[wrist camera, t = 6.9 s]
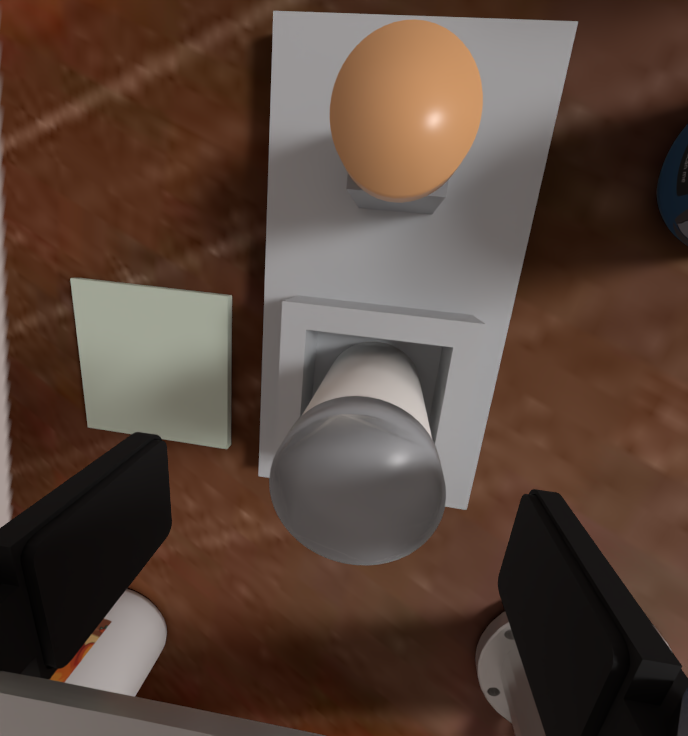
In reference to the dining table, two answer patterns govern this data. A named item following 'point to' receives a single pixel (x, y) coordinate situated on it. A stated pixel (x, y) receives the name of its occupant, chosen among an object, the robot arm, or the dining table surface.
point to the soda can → (675, 188)
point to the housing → (402, 231)
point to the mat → (155, 360)
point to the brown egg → (406, 109)
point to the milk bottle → (119, 648)
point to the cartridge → (361, 462)
